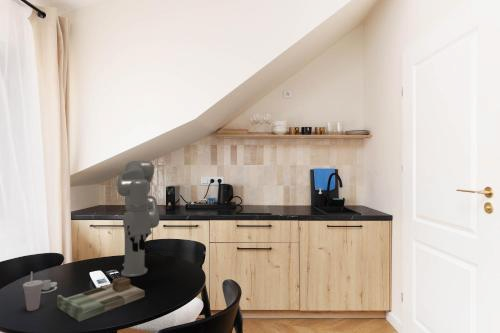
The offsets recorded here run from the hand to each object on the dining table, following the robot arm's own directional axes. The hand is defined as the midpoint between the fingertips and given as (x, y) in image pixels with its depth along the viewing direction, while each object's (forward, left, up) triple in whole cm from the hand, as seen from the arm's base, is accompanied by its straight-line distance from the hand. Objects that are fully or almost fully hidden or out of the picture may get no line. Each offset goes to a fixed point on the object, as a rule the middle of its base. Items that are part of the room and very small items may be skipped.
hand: (138, 250), depth 136 cm
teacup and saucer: (-30, -22, -18) cm, 41 cm away
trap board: (0, -16, -17) cm, 23 cm away
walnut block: (0, -8, -15) cm, 17 cm away
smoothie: (-15, -35, -17) cm, 42 cm away
